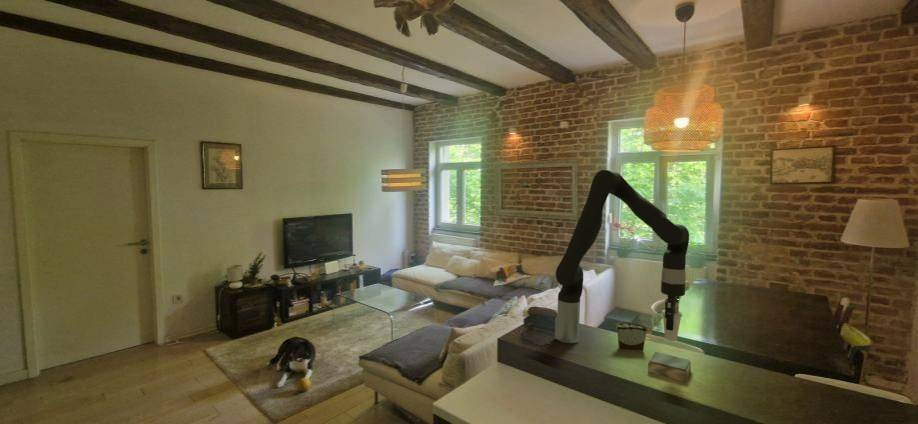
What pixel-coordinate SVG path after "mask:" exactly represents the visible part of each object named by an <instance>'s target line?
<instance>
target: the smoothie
mask: <svg viewBox="0 0 918 424" xmlns="http://www.w3.org/2000/svg"><path fill="white" fill-rule="evenodd" d="M661 315H662V322H663V332H664V338H665V340H668V341H673V342H675V341H677V340H678V335H679V334H678V333H679V330H680V324H681V319H682V317H683V313H682V312H681V311H676V314H674V325H673V330H672V331H671V330H667V329H666V318H665V309H662V310H661ZM668 315H670V316H671V313H668Z"/></svg>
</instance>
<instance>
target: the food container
mask: <svg viewBox="0 0 918 424" xmlns="http://www.w3.org/2000/svg"><path fill="white" fill-rule="evenodd" d="M615 330H616V332H617V344H618V350H619V351H628V350H635V351H634V352H644V351H645V350H644V348H645V342H646V335H647V333H648V332H649V329H648V327H647V326H646V325H644V324H641V323H638V322H631V321H620V322H617V324H616V326H615ZM636 350H637V351H636Z"/></svg>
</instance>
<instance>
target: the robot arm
mask: <svg viewBox="0 0 918 424" xmlns="http://www.w3.org/2000/svg"><path fill="white" fill-rule="evenodd" d="M610 194H611V195H613V196H614V197H616V198H617V199H620V200H621V201H622V202H623V203H625V205H627V207H628V208H629V209H630V211H631V212H632V213H633V214H634V215H635V216H636V217H637V218H638V219H639V220H641V221H642V222H643V223H644V224H645V225H646V226H648V227H649V228H651V230H652V232H654V234H656V236H657V237H659V238H660V239H661V240H662V241H663V242H664V243H665V244H667V245H666V246H667V247H666V251H664V253H663V255H662V256H663V257H662V270H661V278H660V279H661V280H660V282H661V283H660V292H661V294H663V295H666V296H667V297H666V298H665V301H664V310H665V318H666V329H667V330H671V331H672V330H673V325H674V314H676V311H679V309H680V297H684V296H685V294H686V282H687V281H686V280H687V279H686V278H687V275H686V261H687V260H686V258H687V257H686V256H687V252H688V247H689V243H690V232H689V230H688V228H687V227H686V226H685V225H683V224H675V223H673V222H672V221H671V220H670V219H669V218H668V217H667V214H666V213H664V212H663V210H661V209H660V208H659V207H657V206H656V205H655V204H654V203H652V202H651V201H650V200H648V199H647V198H645V197H644V196H643V195H641V194H640V193H639V192H638V191H637V190H636V189H635V188H634V187H632V185H630V183H628V181H627V180H626V179H625V178H624V176H622V175H621V174H620V172H618V171H616V170H611V169H601V170H599V171H597V172H596V173H595V175H594V177H593V178H592V182H591V185H590V188H589V192H588V195H587V198H586V202H585V204H584V206H583V208H582V210H581V211H582V212H581V214H580V216H579V218H578V220H577V223H576V225H575V228H574V230H573V233H572V236H571V238H570V241H569V243H568V245H567V248H566V250H565V252H564V255H563V257H562V259H561V260H560V262H559V264H558V266H557V268H556V271H555V279H556V281H557V283H558V284H559V285H560V286H561V289H560V290H559V291H558V294H557V311H556V312H557V313H556V314H557V316H556V317H555V319H554V320H555V321H554V325H555V326H554V339H555V340H557V341H559V342H560V343H564V344H577V343H578V342H579V340H580V317H581V313H580V312H581V311H580V309H581V297H582V294H583V289H584V287H583V285H584V271H583V268H582V266H581V265H580V263H581V262H582V259H583V257H584V256H585V255H586V253H587V252H589V250H590V249H591V248H592V246H593V245H594V243H595V242H596V239H597V237H598V235H599V233H600V230H601V228H602V224H603V210H604V206H605V204H606V201H607V199H608V197H609V195H610ZM679 312H680V311H679ZM668 313H671V316H670V315H668Z"/></svg>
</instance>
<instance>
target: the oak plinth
mask: <svg viewBox="0 0 918 424" xmlns="http://www.w3.org/2000/svg"><path fill="white" fill-rule="evenodd" d="M691 369H692V361H690V359H687V358H683V357H678V356H675V355H672V354H671V355H670V354H666V353H663V352H657V351H654V352H653V354H652V355H651V357H650V359H649V360H648V363H647V372H648V371H649V372H648V373H650V372H652V373H651V374H654V373H657V374H656V375H658V374H659V375H658V376H662V375H663V376H662V377H665V376H666V378H669V377H670V379H673V380H677V381H681V382H685V383H687V382H688V379H689V376H690V374H691V372H692V370H691Z"/></svg>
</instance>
